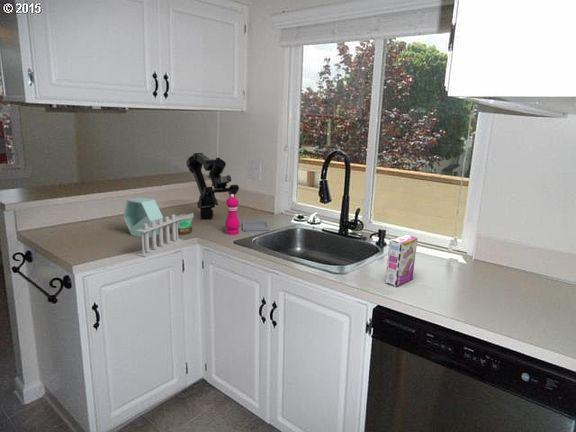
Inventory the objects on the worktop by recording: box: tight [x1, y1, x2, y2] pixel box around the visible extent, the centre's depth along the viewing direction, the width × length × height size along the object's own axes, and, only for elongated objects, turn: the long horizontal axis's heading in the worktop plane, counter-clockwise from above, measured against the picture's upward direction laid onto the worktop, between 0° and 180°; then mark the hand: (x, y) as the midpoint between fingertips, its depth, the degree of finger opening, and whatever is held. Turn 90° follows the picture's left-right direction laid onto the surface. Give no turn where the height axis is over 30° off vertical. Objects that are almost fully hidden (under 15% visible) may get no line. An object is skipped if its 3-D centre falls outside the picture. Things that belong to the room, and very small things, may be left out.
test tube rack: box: [136, 214, 184, 259], centre depth 171 cm, size 25×4×13 cm, turn 158°
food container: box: [169, 210, 195, 236], centre depth 193 cm, size 12×6×10 cm, turn 131°
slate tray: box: [242, 220, 270, 232], centre depth 208 cm, size 13×13×2 cm
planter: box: [123, 196, 164, 239], centre depth 188 cm, size 17×8×21 cm
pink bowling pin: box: [224, 194, 241, 236], centre depth 194 cm, size 7×7×20 cm
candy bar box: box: [385, 234, 419, 288], centre depth 141 cm, size 11×5×16 cm, turn 133°
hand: (225, 204), depth 200 cm, fingers open, 9 cm apart
